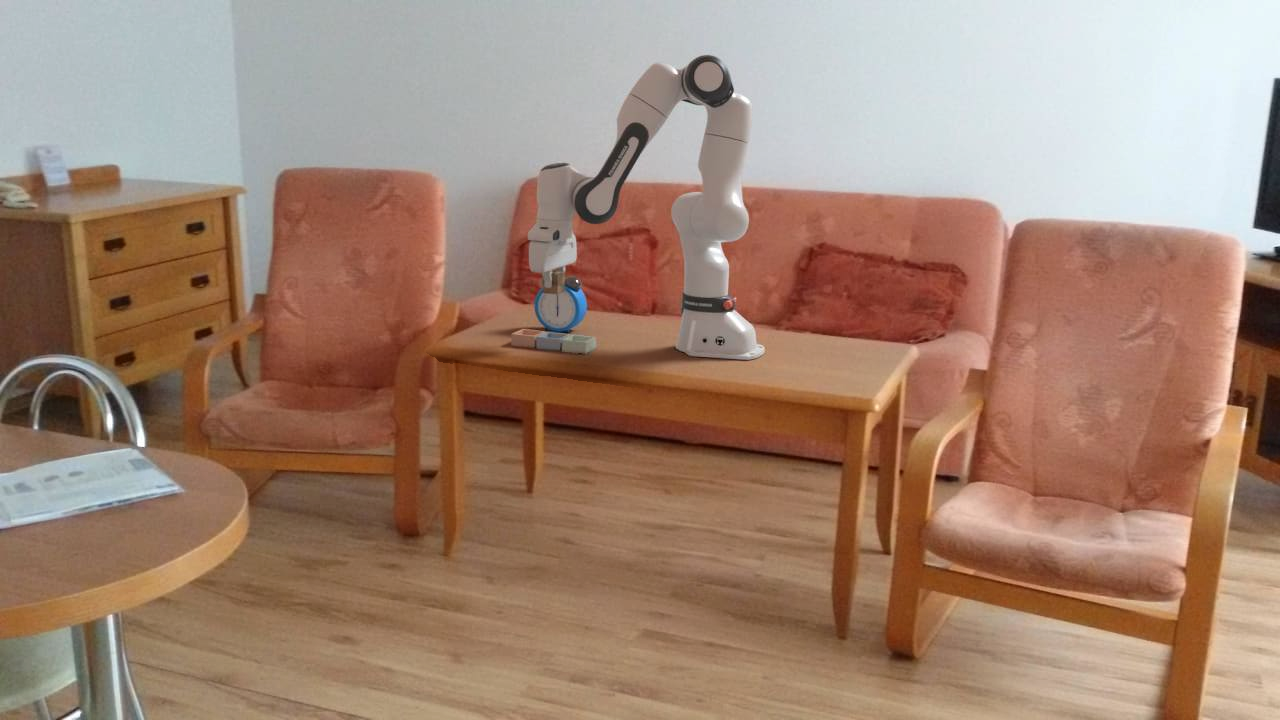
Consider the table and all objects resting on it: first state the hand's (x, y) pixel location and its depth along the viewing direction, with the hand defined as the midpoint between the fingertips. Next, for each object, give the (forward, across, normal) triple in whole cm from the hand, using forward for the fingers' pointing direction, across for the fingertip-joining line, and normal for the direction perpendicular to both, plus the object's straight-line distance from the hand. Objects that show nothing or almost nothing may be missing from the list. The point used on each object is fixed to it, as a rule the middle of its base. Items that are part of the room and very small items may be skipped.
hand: (553, 285), depth 280 cm
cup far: (+16, 0, -7) cm, 17 cm away
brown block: (+2, 0, 0) cm, 2 cm away
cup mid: (+16, 0, 0) cm, 16 cm away
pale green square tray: (+16, 0, +7) cm, 17 cm away
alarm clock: (+16, -18, -6) cm, 25 cm away
